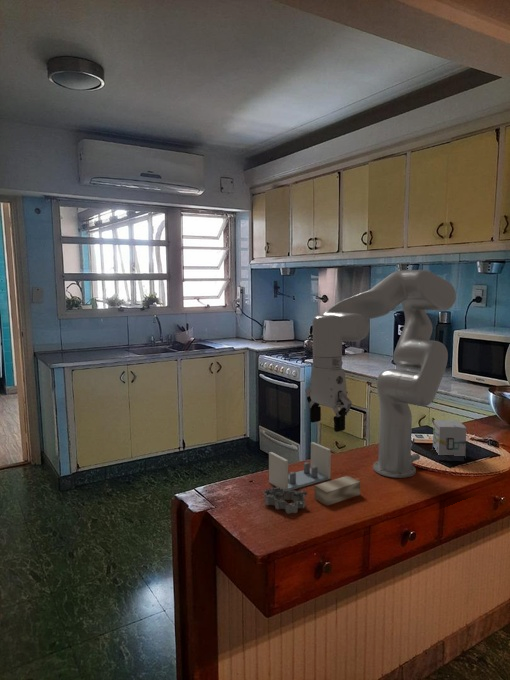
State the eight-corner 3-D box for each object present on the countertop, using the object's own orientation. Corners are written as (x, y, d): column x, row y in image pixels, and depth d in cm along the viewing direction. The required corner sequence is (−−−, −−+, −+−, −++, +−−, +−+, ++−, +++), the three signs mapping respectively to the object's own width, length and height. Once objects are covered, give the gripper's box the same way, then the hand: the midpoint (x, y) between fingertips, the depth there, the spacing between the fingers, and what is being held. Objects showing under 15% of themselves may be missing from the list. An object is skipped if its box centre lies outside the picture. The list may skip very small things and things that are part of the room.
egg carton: (309, 507, 123) (309, 492, 122) (290, 517, 117) (290, 501, 117) (278, 494, 130) (278, 480, 130) (259, 503, 125) (259, 488, 124)
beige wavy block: (347, 489, 133) (347, 475, 133) (360, 495, 129) (360, 481, 129) (314, 499, 127) (314, 485, 126) (326, 506, 123) (326, 492, 122)
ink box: (432, 452, 161) (433, 419, 160) (458, 453, 160) (459, 419, 159) (438, 461, 153) (439, 426, 152) (465, 462, 152) (467, 427, 150)
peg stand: (313, 470, 146) (313, 442, 145) (330, 478, 140) (330, 449, 139) (269, 482, 138) (268, 452, 137) (285, 492, 131) (285, 461, 130)
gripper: (361, 365, 117) (360, 432, 119) (317, 356, 132) (317, 416, 134) (338, 368, 113) (338, 437, 115) (295, 359, 128) (296, 420, 130)
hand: (327, 426), depth 125 cm, fingers open, 9 cm apart
